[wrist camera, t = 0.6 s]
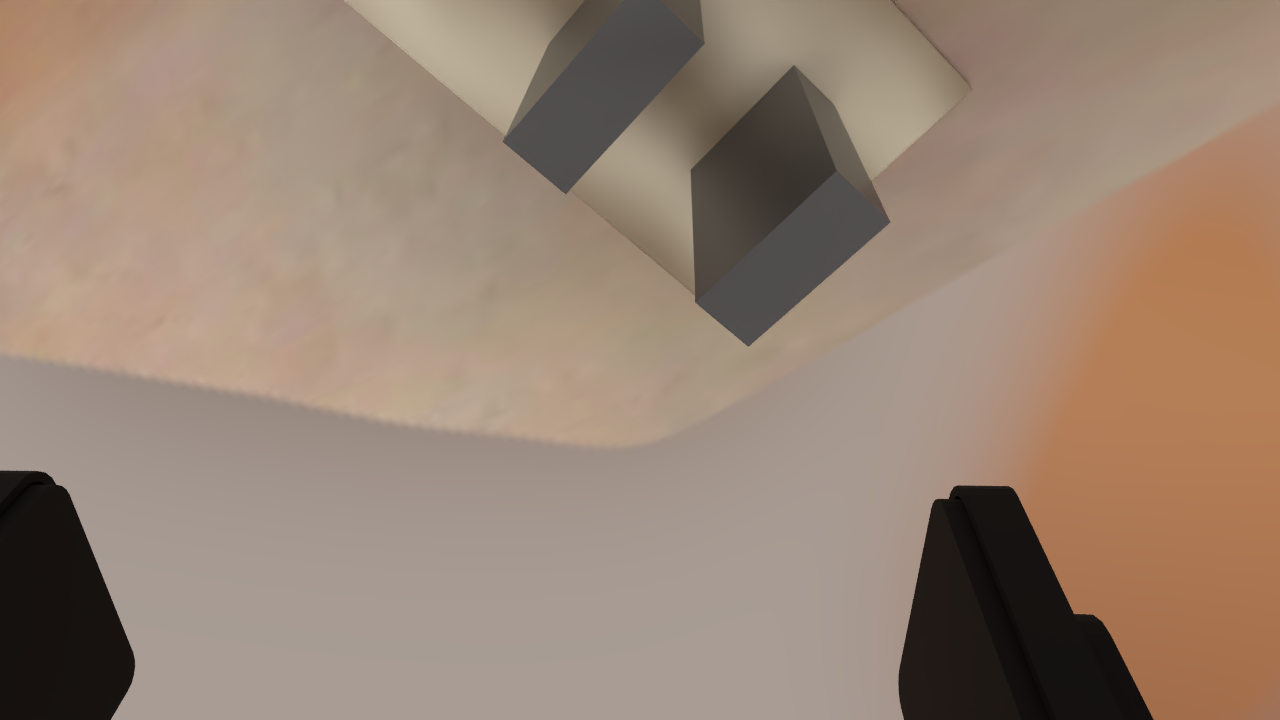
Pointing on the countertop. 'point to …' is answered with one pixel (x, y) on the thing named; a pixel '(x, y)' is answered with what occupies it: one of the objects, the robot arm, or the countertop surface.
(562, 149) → the domino
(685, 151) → the board
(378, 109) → the countertop surface
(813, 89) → the domino
